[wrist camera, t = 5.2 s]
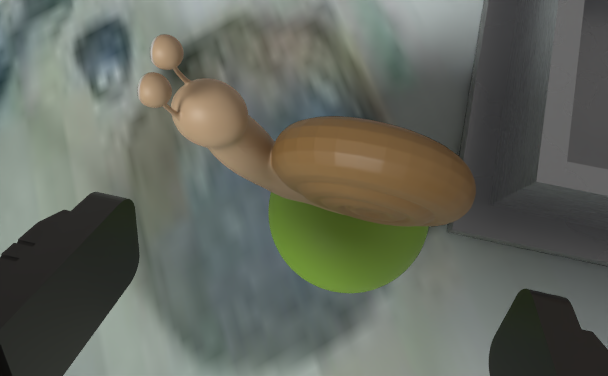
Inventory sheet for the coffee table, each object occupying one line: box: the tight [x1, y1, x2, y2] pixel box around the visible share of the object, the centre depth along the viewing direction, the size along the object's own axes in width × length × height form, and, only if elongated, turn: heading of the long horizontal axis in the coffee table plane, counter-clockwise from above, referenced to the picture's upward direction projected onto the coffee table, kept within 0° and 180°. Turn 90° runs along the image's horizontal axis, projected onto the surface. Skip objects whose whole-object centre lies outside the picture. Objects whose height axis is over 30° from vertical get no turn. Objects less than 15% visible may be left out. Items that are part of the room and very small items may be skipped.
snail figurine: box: [137, 34, 476, 293], centre depth 12 cm, size 5×6×12 cm
